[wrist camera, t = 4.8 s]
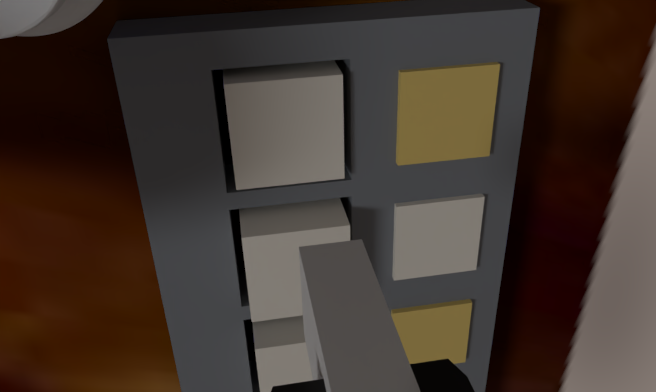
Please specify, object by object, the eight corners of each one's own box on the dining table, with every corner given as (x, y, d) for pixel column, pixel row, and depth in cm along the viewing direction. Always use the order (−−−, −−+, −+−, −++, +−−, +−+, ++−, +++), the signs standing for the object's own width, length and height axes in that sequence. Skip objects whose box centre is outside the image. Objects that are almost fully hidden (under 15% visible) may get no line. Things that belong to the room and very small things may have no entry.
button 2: (238, 207, 26) (241, 238, 24) (339, 196, 27) (350, 225, 25) (248, 287, 28) (251, 322, 26) (341, 275, 29) (351, 308, 27)
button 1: (222, 64, 24) (223, 84, 22) (331, 55, 25) (342, 74, 23) (234, 163, 26) (236, 189, 24) (334, 153, 27) (344, 178, 25)
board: (116, 20, 23) (105, 41, 21) (510, -7, 25) (543, 9, 23) (204, 459, 36) (204, 504, 34) (460, 417, 38) (478, 456, 36)
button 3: (251, 314, 29) (254, 349, 27) (341, 302, 30) (351, 335, 28) (259, 379, 31) (262, 416, 29) (343, 367, 32) (352, 402, 30)
